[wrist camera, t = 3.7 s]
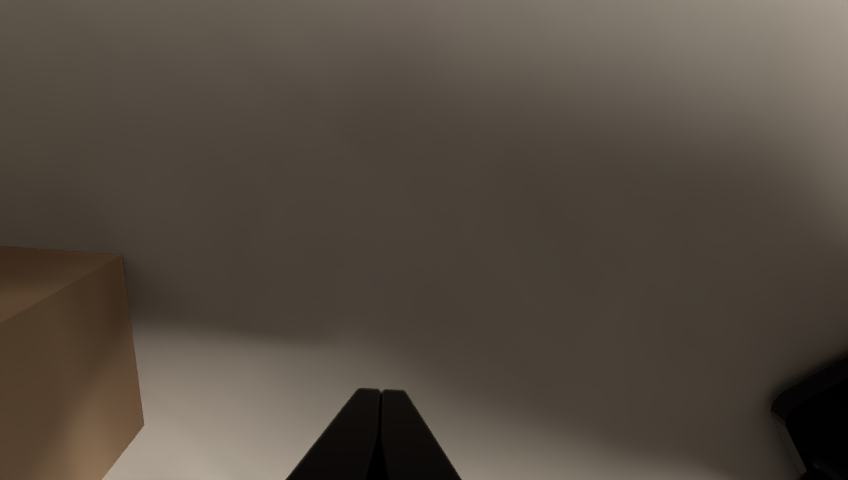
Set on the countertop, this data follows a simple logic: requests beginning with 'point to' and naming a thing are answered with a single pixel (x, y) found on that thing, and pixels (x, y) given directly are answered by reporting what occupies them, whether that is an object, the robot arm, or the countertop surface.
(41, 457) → the t block
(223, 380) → the countertop surface
